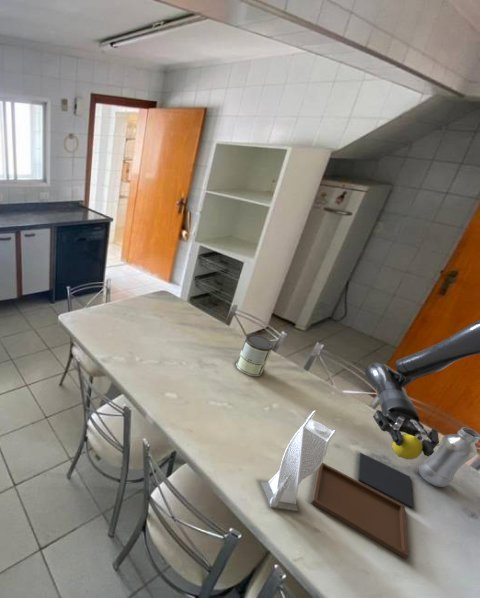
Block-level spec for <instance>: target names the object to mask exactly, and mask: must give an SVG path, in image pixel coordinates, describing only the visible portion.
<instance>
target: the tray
mask: <svg viewBox="0 0 480 598" xmlns="http://www.w3.org/2000/svg"><path fill="white" fill-rule="evenodd" d="M311 496H312V497H311V505H313V506H315V507H317V508H318V509H320V510H322V511H324V512H325V513H327V514H329V515H330V516H332V517H334V518H335V519H337V520H338V521H340V522H342V523H344V524H345V525H347V526H348V527H350V528H352V529H354V530H356V531H357V532H359V533H360V534H362V535H364V536H366V537H367V538H369V539H370V540H372V541H374V542H376V543H377V544H379V545H381V546H382V547H384V548H386V549H387V550H389V551H391V552H392V553H394V554H396V555H398V556H399V557H401V558H403V559H404V560H406V559H408V558H409V556H410V554H409V543H408V542H409V541H408V529H407V518H406V505H404V504H402V503H401V502H399V501H397V500H395V499H393V498H391V497H389V496H387V495H385V494H383V493H381V492H380V491H378V490H376V489H374V488H372V487H370V486H368V485H366V484H364V483H362V482H361V481H359V480H356V479H355V478H353V477H351V476H349V475H347V474H345V473H343V472H341V471H340V470H337V469H335V468H334V467H331V466H330V465H328V464H326V463H324V462H322V464H321V466H320V467H319V468H318V469H317V470H316V476H315V481H314V486H313V491H312V495H311Z"/></svg>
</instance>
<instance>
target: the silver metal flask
mask: <svg viewBox="0 0 480 598" xmlns="http://www.w3.org/2000/svg"><path fill="white" fill-rule="evenodd" d="M479 441H480V434H479V433H478V432H477V431H475V430H474V429H471V428H469V427H464V426H463V427H461V428H460V429H458V431H456V433H449V434H445V435H444V436H443V437H442V438H441V440H440V441H439V444H438V447H437V448H436V450H434V453H433V454H432V455H431V456H429V458H427V459H426V460H424V461H422V462H421V463H420V464H419V467H418V468H417V469H418V470H417V471H418V473H419V475H420V477H421V478H422V479H423V480H424V481H426V482H427V483H428V484H430V485H433V486H435V487H439V488H445V487H447V486H449V485H450V484H451V483H452V482H453V479H454V476H455V475H456V474H457V472H458V470H459V469H460V468H461V467H462V466H463V465H465V464H466V463H468V462H469V461H470V460H472V459H473V458H474V457H475V456H477V452H478V449H477V446H476V444H478V443H479Z"/></svg>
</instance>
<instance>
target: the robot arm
mask: <svg viewBox="0 0 480 598" xmlns="http://www.w3.org/2000/svg"><path fill="white" fill-rule="evenodd" d="M476 355H480V319H479V320H477V321H475V322H473V323H471V324H469V325H468V326H466V327H464V328H462V329H461V330H459V331H457V332H456V333H454V334H452V335H451V336H448V337H447V338H445V339H443V340H441V341H440V342H437V343H436V344H433V345H431V346H428V347H426V348H423V349H422V350H419V351H416V352H414V353H411V354H409V355H406V356H403V357H401V358H398V359H397V360H396V361H395V362H394V368H395V370H394V369H393V368H391V367H390V366H388V365H387V364H385V363H384V362H383V363H382V362H372V363H370V364H368V365H367V366H366V368H365V371H364V376H365V378H366V380H367V382H368V383H369V384H370V386H371V387H372V388H373V389H374V390H375V392H376V395H377V397H378V403H379V406H380V408H381V410H379V409H377V410H376V411H375V413H374V414H373V415H372V417H373V419H374V421H375V423H376V424H377V426H378V427H379V429H380V430H381V431H382V432H387V433H388V434H389V435H390V437H391V439H392V442H393V441H394V442H395V443H396V445H398V446H401V444H402V443H403V441H404V440H403V438H402V435H403V434H402V433H404V434H409V435H412V436H415V437H416V438H418V439H419V440H420V442H421V443H422V445H423V450H422V453H423V455H424V456H425V457H427V458H428V457H429V458H430V457H431V456H432V455H433V454H434V453H435V448H436V447H437V445H439V444H440V439H439V438H440V437H439V431H438V430H436V429H435V428H431V429H428V428H426V427H425V426H424V425H423V423H421V422H420V415H419V413H418V411H417V410H416V407H415V406H414V403H413V401H412V399H411V398H410V397H409V395H408V393H407V391H406V390H405V388H406V387H407V386H409V385H410V384H411V383H413V382H415V381H417V380H418V379H420V378H424V377H428V376H431V375H433V374H435V373H438V372H440V371H442V370H445V369H446V368H447V367H449V366H451V365H452V364H454V363H455V362H457V361H459V360H462V359H466V358H469V357H472V356H476Z"/></svg>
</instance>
